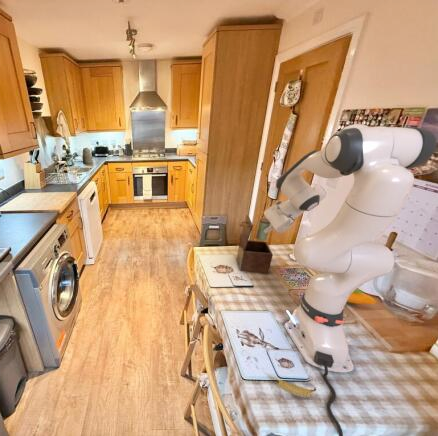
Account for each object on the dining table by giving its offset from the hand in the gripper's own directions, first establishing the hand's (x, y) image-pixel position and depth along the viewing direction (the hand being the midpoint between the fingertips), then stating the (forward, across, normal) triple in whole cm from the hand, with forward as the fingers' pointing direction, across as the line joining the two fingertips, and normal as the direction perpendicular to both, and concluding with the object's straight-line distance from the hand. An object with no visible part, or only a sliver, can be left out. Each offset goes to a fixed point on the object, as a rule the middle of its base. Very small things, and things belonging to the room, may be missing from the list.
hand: (262, 228), depth 115 cm
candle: (-2, +12, -34) cm, 36 cm away
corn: (-6, -20, -39) cm, 44 cm away
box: (+17, +1, -16) cm, 23 cm away
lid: (+7, +1, +2) cm, 8 cm away
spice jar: (+3, 0, -4) cm, 5 cm away
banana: (+18, -64, -14) cm, 68 cm away
